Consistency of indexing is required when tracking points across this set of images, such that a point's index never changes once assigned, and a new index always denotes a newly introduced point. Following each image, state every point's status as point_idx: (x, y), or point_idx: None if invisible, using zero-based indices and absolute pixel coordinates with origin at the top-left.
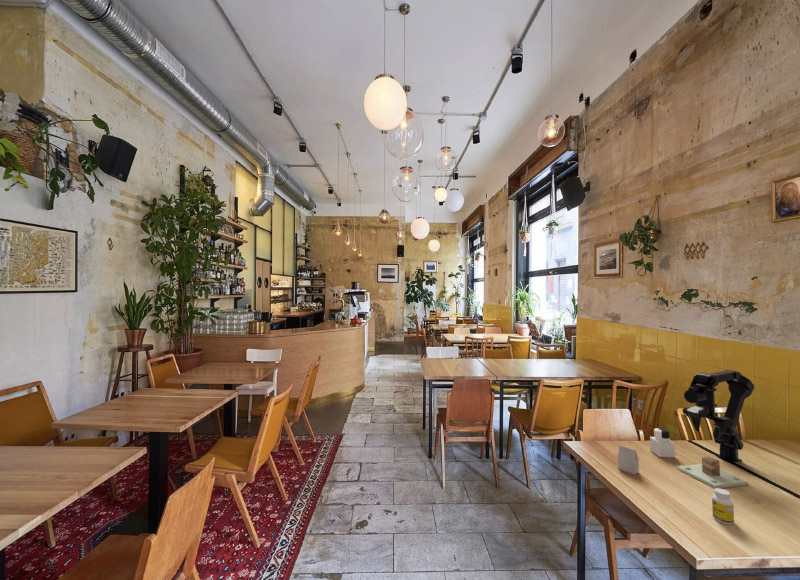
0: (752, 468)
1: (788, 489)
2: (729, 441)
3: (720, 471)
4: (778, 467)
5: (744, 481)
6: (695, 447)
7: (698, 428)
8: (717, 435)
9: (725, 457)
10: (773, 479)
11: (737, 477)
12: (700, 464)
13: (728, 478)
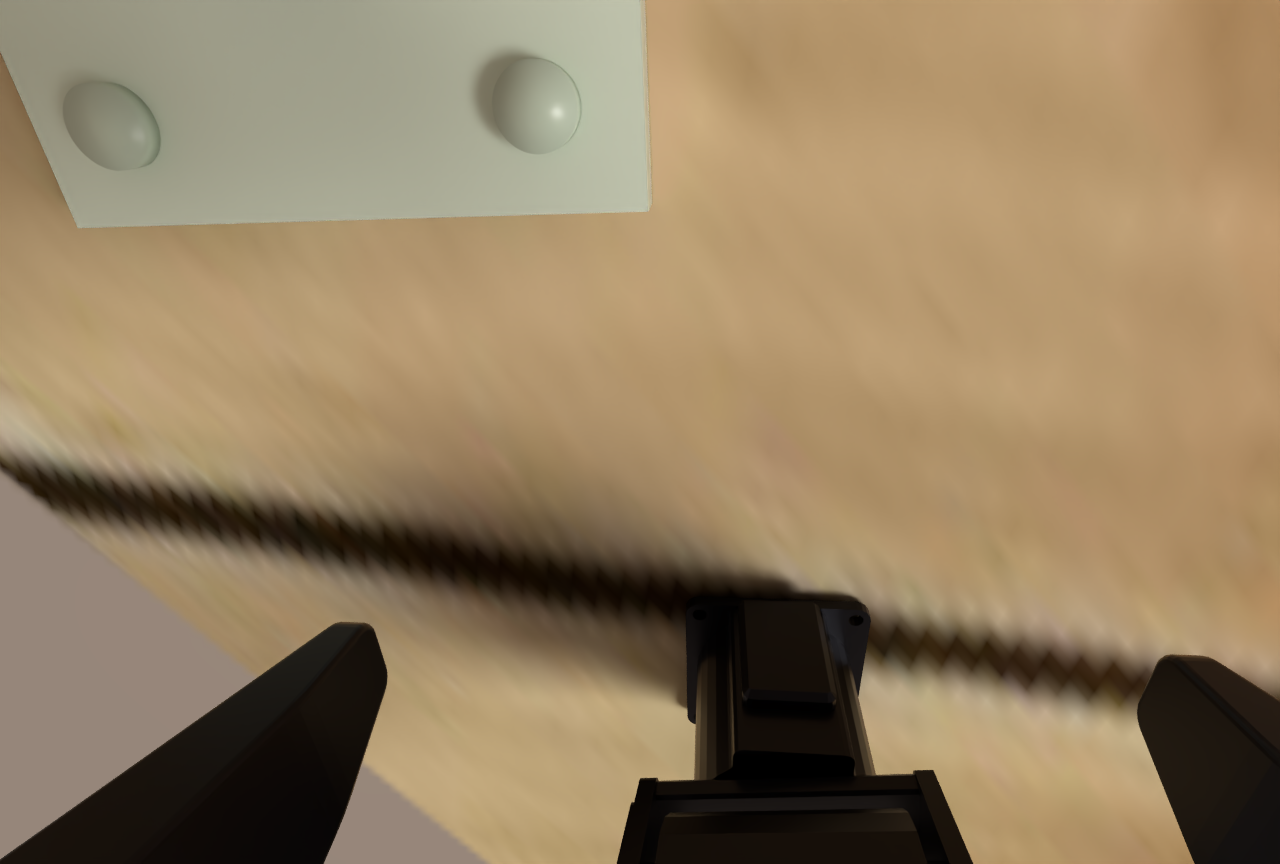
0: (534, 649)
1: (102, 525)
2: (657, 858)
3: (356, 128)
4: (537, 827)
5: (68, 178)
6: (1175, 616)
7: (1212, 820)
8: (224, 720)
9: (743, 615)
10: (302, 598)
11: (111, 154)
12: (626, 21)
13: (108, 2)
